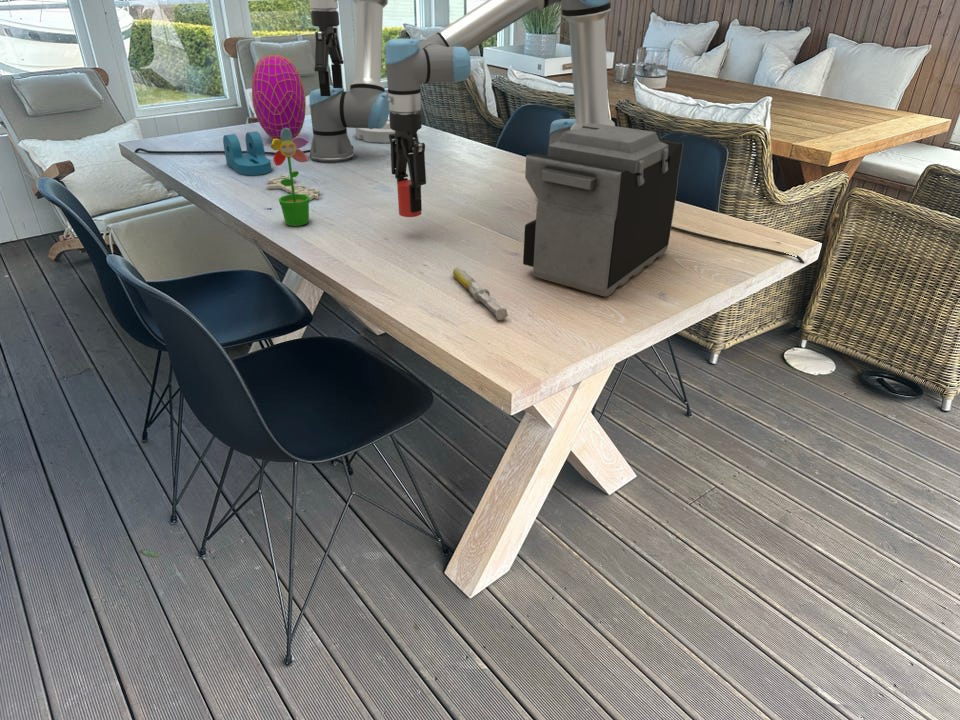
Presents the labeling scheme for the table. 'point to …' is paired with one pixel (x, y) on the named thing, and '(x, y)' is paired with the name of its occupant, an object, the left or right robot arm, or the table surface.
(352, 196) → the table surface
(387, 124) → the ashtray
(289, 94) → the decorative egg
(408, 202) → the canister
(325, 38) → the left robot arm
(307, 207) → the potted flower
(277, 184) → the decorative sign
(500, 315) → the syringe
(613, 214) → the grey cooler box
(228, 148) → the camera mount
